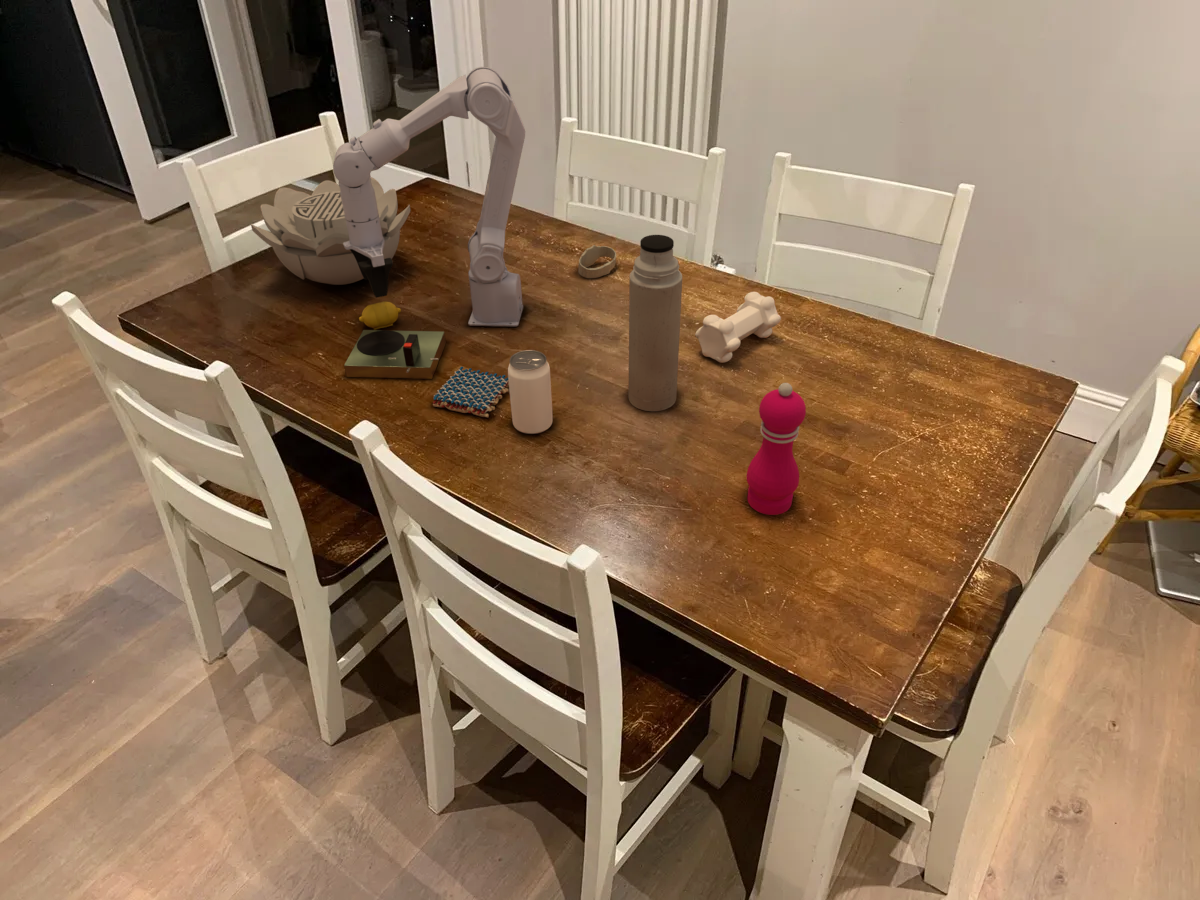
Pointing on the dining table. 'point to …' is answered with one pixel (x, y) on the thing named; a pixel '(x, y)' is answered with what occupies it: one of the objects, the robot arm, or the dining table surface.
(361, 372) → the hob
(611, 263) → the grey oval ring
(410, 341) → the black block
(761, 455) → the pepper mill
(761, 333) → the bone shaped toy
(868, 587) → the dining table surface
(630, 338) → the thermos bottle
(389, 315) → the lemon
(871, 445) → the dining table surface
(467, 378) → the woven mat
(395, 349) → the burner
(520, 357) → the can
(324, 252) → the decorative bowl
